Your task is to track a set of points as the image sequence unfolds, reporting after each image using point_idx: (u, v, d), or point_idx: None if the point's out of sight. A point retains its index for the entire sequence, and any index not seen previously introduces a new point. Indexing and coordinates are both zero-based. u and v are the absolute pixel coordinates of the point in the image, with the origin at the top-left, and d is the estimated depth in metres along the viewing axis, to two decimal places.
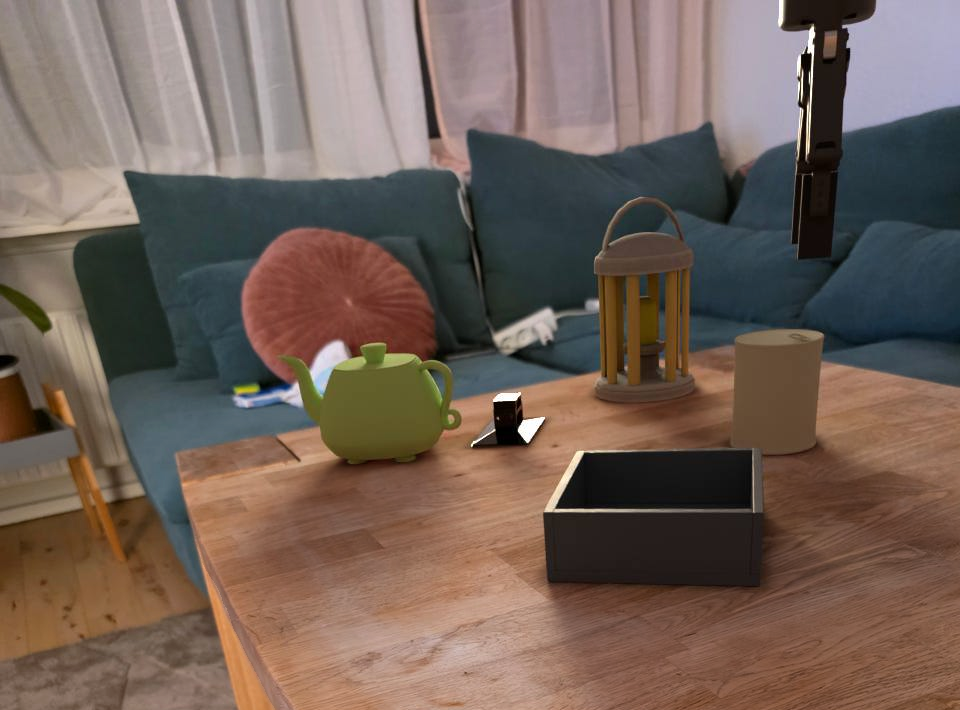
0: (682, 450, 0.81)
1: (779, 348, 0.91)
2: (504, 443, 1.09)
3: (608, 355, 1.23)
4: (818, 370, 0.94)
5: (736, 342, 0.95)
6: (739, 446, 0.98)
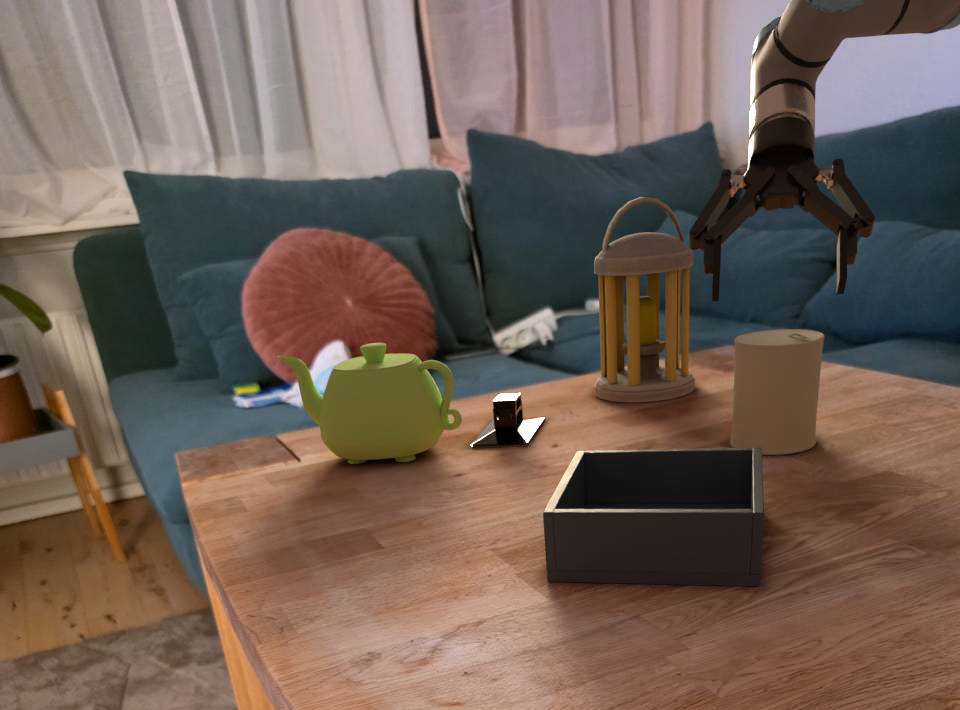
0: (682, 450, 0.81)
1: (779, 348, 0.91)
2: (504, 443, 1.09)
3: (608, 355, 1.23)
4: (818, 370, 0.94)
5: (736, 342, 0.95)
6: (739, 446, 0.98)
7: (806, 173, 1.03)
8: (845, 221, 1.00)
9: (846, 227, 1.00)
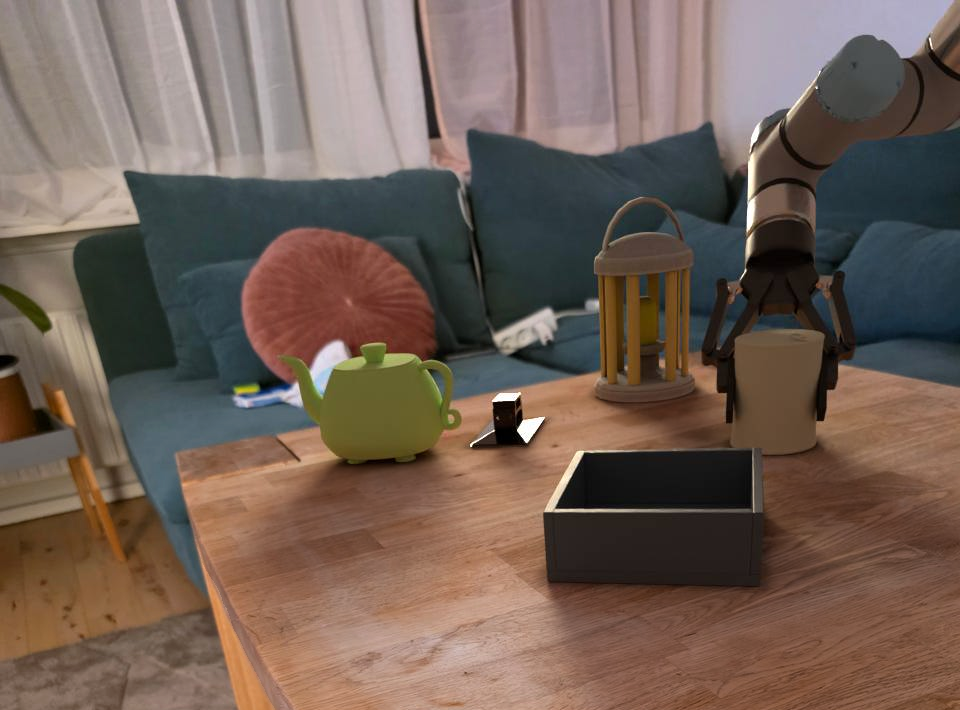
0: (682, 450, 0.81)
1: (780, 349, 0.91)
2: (503, 443, 1.09)
3: (608, 355, 1.23)
4: (818, 370, 0.94)
5: (736, 342, 0.95)
6: (739, 446, 0.98)
7: (804, 278, 0.98)
8: (827, 344, 0.95)
9: (826, 350, 0.95)
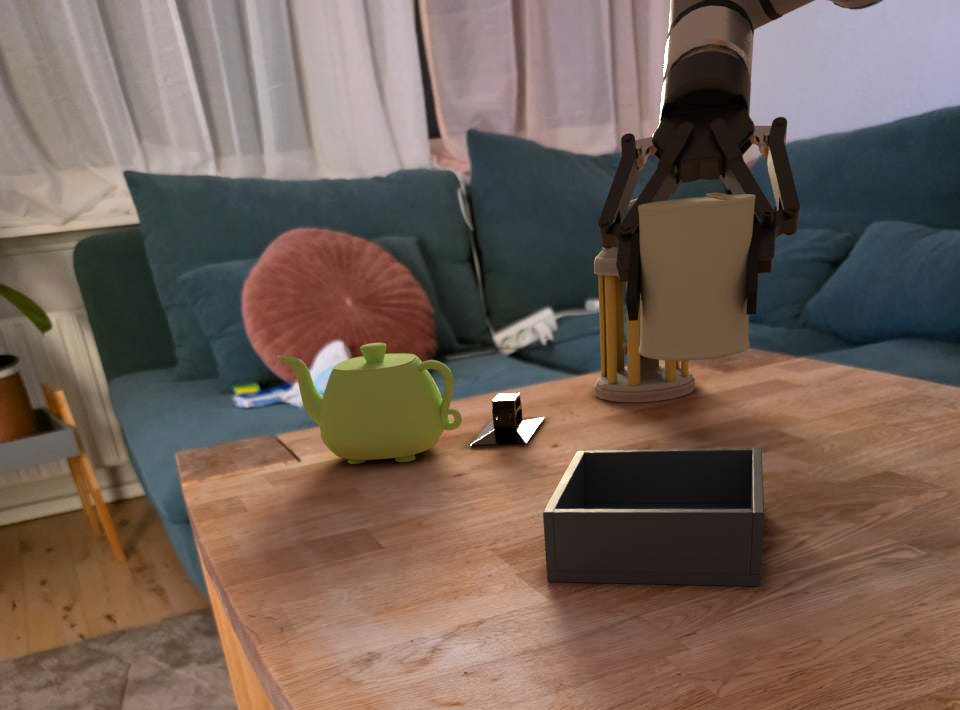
0: (682, 450, 0.81)
1: (692, 209, 0.67)
2: (503, 443, 1.09)
3: (608, 355, 1.23)
4: (747, 243, 0.70)
5: (639, 207, 0.71)
6: (647, 351, 0.75)
7: (734, 129, 0.74)
8: (760, 210, 0.71)
9: (759, 219, 0.71)
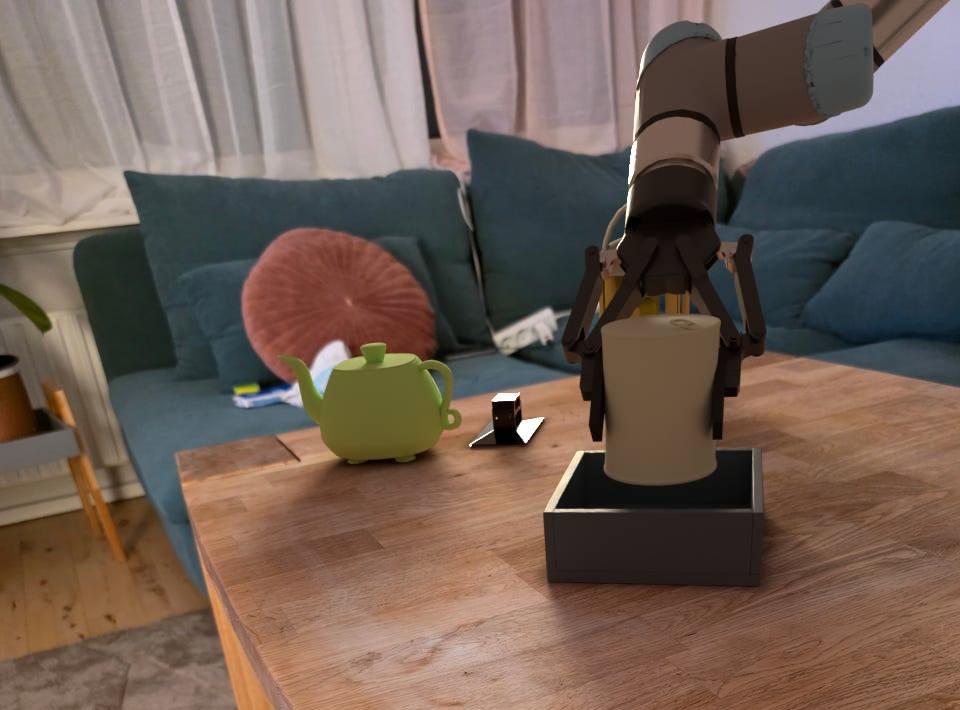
0: None
1: (654, 340, 0.65)
2: (502, 443, 1.09)
3: None
4: (713, 370, 0.68)
5: (602, 331, 0.69)
6: (612, 472, 0.73)
7: (700, 245, 0.72)
8: (726, 333, 0.69)
9: (725, 342, 0.69)
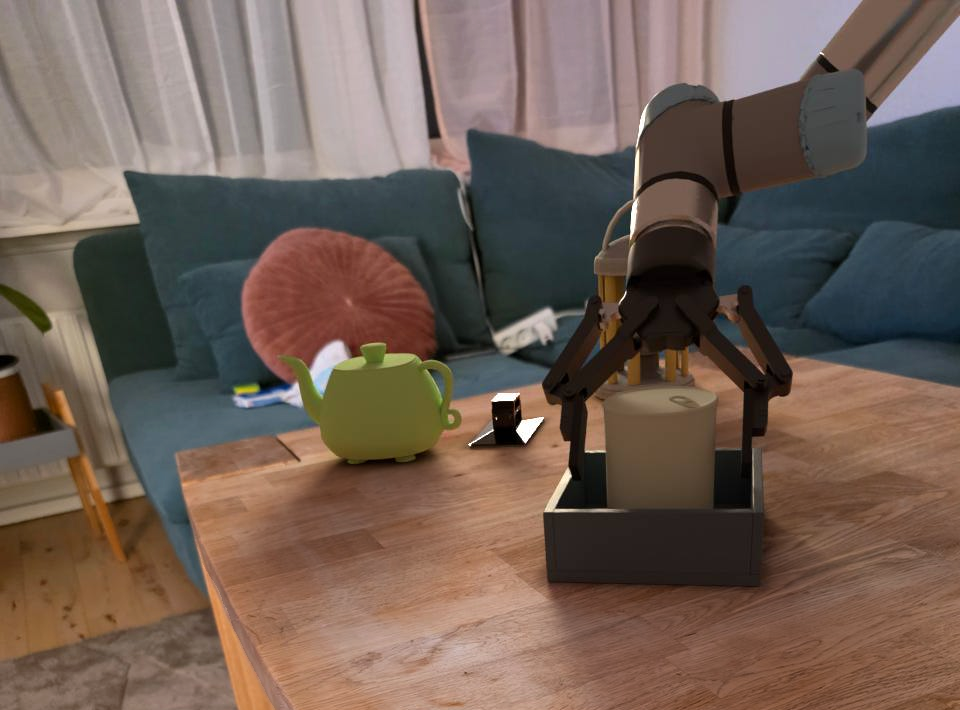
0: None
1: (654, 418, 0.68)
2: (502, 443, 1.09)
3: None
4: (710, 444, 0.71)
5: (603, 406, 0.72)
6: None
7: (701, 304, 0.74)
8: (752, 377, 0.71)
9: (753, 386, 0.71)
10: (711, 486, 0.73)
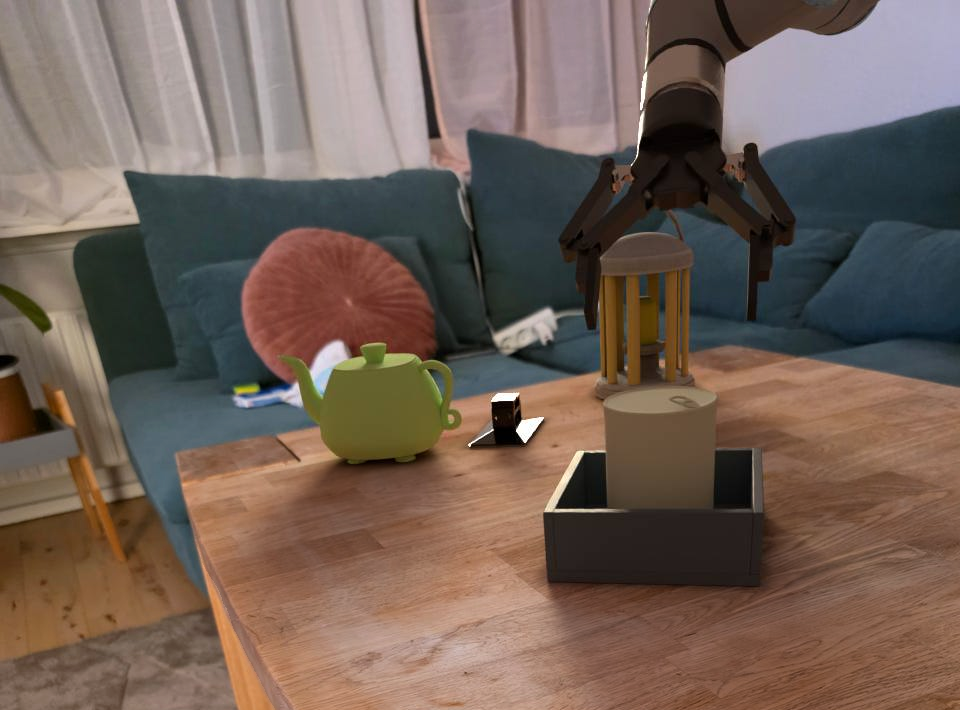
0: None
1: (654, 418, 0.68)
2: (502, 443, 1.09)
3: (608, 355, 1.23)
4: (710, 444, 0.71)
5: (603, 406, 0.72)
6: None
7: (709, 162, 0.79)
8: (757, 225, 0.75)
9: (758, 232, 0.75)
10: (711, 486, 0.73)
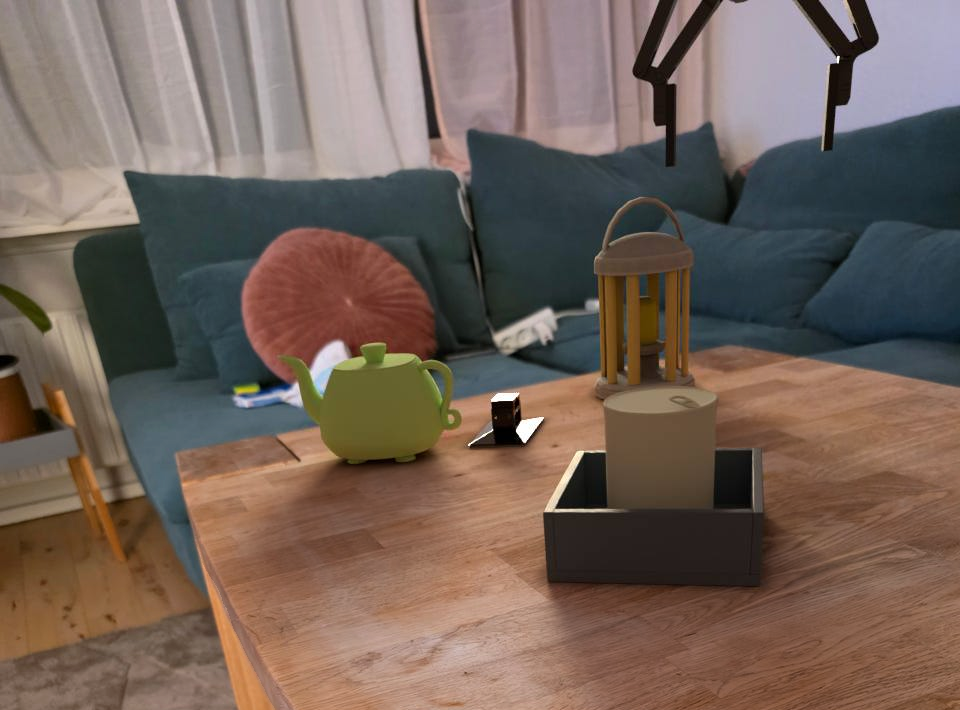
0: None
1: (654, 418, 0.68)
2: (501, 443, 1.09)
3: (608, 355, 1.23)
4: (710, 444, 0.71)
5: (603, 406, 0.72)
6: None
7: None
8: (838, 47, 0.74)
9: (839, 56, 0.75)
10: (711, 486, 0.73)
